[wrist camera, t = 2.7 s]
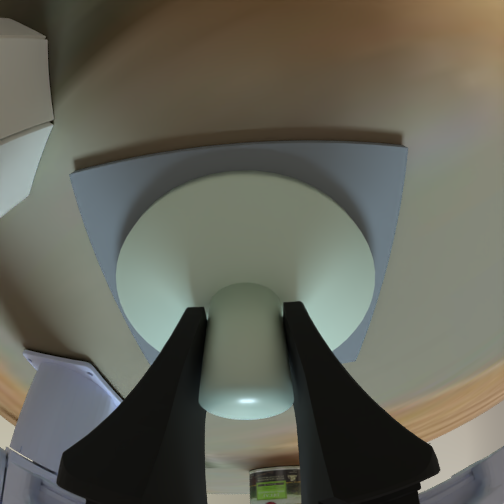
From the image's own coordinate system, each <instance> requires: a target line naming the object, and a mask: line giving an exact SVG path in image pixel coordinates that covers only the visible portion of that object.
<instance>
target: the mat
mask: <svg viewBox="0 0 504 504" xmlns="http://www.w3.org/2000/svg"><path fill="white" fill-rule="evenodd" d="M407 154H408V148H407V147H405V146H403V145H395V144H384V143H371V142H354V141H321V140H300V141H266V142H249V143H235V144H224V145H213V146H204V147H196V148H188V149H181V150H174V151H167V152H161V153H155V154H149V155H144V156H138V157H133V158H128V159H123V160H118V161H114V162H109V163H105V164H101V165H96V166H92V167H88V168H85V169H81V170H77V171H74V172H73V173H71V174H69V176H70V179H71V183H72V187H73V190H74V194H75V197H76V200H77V204H78V207H79V210H80V213H81V216H82V219H83V222H84V225H85V228H86V231H87V234H88V236H89V239H90V242H91V245H92V247H93V250H94V252H95V255H96V257H97V260H98V262H99V265H100V267H101V270H102V272H103V274H104V277H105V279H106V281H107V283H108V286H109V288H110V290H111V292H112V294H113V296H114V299H115V301H116V303H117V305H118V307H119V309H120V311H121V313H122V315H123V317H124V319H125V321H126V323H127V325H128V326H129V328H130V330H131V332H132V334H133V336H134V338H135V339H136V341H137V343H138V345H139V347H140V348H141V350H142V352H143V353H144V355H145V357H146V359H147V360H148V362H149V364H150V365H152V364H153V362H154V361H155V359H156V358H157V356H158V355H159V353H160V352H159V351H157V350H156V349H155V348H154V347H152V346H151V345H150V344H149V343H147V342H146V341H145V340H144V339H143V338H142V337H141V336H140V335H139V333H138V332H137V331H136V330H135V328H134V327H133V326H132V325H131V323H130V321H129V320H128V318H127V316H126V315H125V313H124V310H123V308H122V306H121V303H120V300H119V296H118V292H117V286H116V268H117V261H118V257H119V254H120V250H121V248H122V246H123V244H124V242H125V239H126V237H127V235H128V234H129V233H130V231H131V230H132V228H133V227H134V225H135V224H136V223H137V221H138V220H139V219H140V217H141V216H142V214H143V213H144V212H145V211H146V210H147V209H148V208H149V207H150V206H151V205H152V204H153V203H154V202H155V201H156V200H157V199H159V198H160V197H162V196H163V195H165V194H166V193H167V192H169V191H170V190H172V189H174V188H176V187H178V186H180V185H182V184H184V183H186V182H188V181H190V180H193V179H197V178H200V177H203V176H206V175H209V174H215V173H221V172H227V171H248V170H254V171H262V172H270V173H276V174H280V175H284V176H288V177H291V178H295V179H297V180H300V181H302V182H304V183H307V184H309V185H311V186H314V187H315V188H317V189H318V190H320V191H322V192H323V193H325V194H326V195H328V196H330V197H331V198H332V199H333V200H334V201H335V202H337V203H338V204H339V205H340V206H341V207H342V208H343V209H344V210H345V211H346V212H347V214H348V215H349V216H350V217H351V218H352V220H353V221H354V222H355V224H356V225H357V227H358V228H359V229H360V231H361V232H362V234H363V236H364V238H365V240H366V241H367V243H368V245H369V248H370V251H371V254H372V257H373V261H374V268H375V287H374V292H373V297H372V300H371V303H370V306H369V308H368V311H367V312H366V314H365V316H364V318H363V320H362V321H361V323H360V324H359V326H358V327H357V328H356V330H355V331H354V332H353V333H352V334H351V335H350V336H349V337H348V339H347V340H345V341H344V342H343V343H342V344H341V345H340V346H339V347H337V348H336V349H335V350H333V351H332V352H333V353H334V355H335V356H336V358H337V359H338V360H339V362H340V363H347V362H353V361H356V359H357V356H358V354H359V351H360V349H361V346H362V343H363V341H364V338H365V335H366V333H367V330H368V327H369V324H370V321H371V318H372V315H373V312H374V309H375V306H376V303H377V300H378V296H379V293H380V290H381V286H382V283H383V279H384V276H385V272H386V268H387V264H388V260H389V257H390V252H391V248H392V244H393V240H394V235H395V230H396V225H397V220H398V215H399V210H400V204H401V198H402V192H403V186H404V179H405V171H406V163H407Z"/></svg>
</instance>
